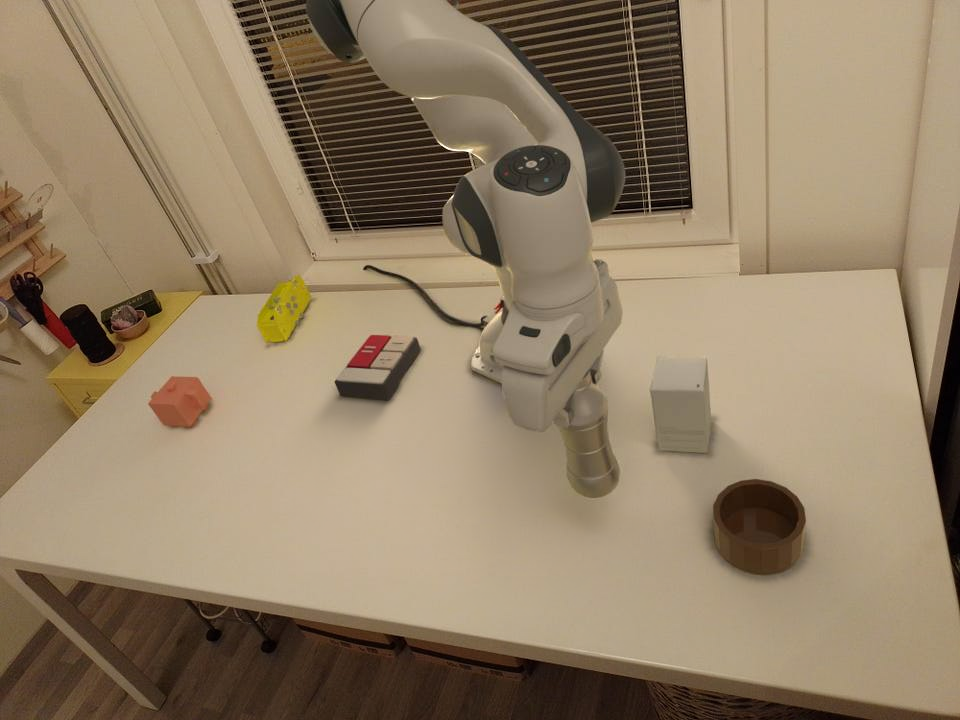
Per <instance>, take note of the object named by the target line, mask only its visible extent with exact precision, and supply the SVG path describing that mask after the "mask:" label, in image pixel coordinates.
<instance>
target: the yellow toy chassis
mask: <svg viewBox="0 0 960 720" xmlns="http://www.w3.org/2000/svg"><path fill="white" fill-rule="evenodd" d="M311 300H312V295H311V294H310V291H309V289H308V287H307V285H306V283H305V281H304V279H303V277H302V275H294V276H293V278H292V279H291V280H290V281H286V282H281V281H280V282H278V284H277V285H276V287H275V288H274V290H273V291H272V292H271V294H270V296H269V297H268V299H267V301H266V302H265V303H264V305H263V306H262V307H261V309H260V311H259V312H258V314H257V316H256V327H257V328H258V331H259V332H260V334H261V336H262V338H263V339H264V341H265V343H266V344H268V343H269V342H270V343H279V342H287V341H288V339H289V338H290V337H291V336H292V332H293V330H294V329H295V327H296V326H300V323H301V322H300V319H303V318H304V317H305V314H304V312H305V311H306V310H307V307H308V305H309V303H310V301H311Z"/></svg>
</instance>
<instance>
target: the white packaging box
mask: <svg viewBox="0 0 960 720" xmlns="http://www.w3.org/2000/svg"><path fill="white" fill-rule="evenodd" d="M649 394H650V398H651V405H652V414H653V420H654V427H655V428H654V429H655V435H656V441H657V447H658V451H665V452H681V453H699V454H708V453H709V444H710V437H711V428H712V427H711V426H712V410H711V394H710V380H709V366H708V358H707V356H686V357H685V356H657V357H656V359H655V364H654V370H653V374H652V378H651V383H650V387H649Z"/></svg>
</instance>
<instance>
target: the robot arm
mask: <svg viewBox="0 0 960 720" xmlns="http://www.w3.org/2000/svg"><path fill="white" fill-rule="evenodd" d="M450 1H451V3H452V4H453V5H452V4H451V3H450V2H449V1H447V0H306V3H305V13H306V16H307V17H308V21H309V25H310V28H311V31H312V33H313V35H314V37H315V38H316V40H317V41H318V43H319V44H320V45H321V46H322V47H323V49H324V50H325V51H327V52H328V53H330V54H331V55H333V56H334V57H335V58H336V59H337V60H339V61H340V62H345V63H349V64H354V63H358V62H360V61H363V60H365V59H366V61H367V63H368V65H369V66H370V67H371V69H372V71H373V72H374V74H376V76H377V77H378V78H379V79H380V80H381V82H382V83H383V84H384V85H385V86H387V87H388V88H389V89H390V90H392V91H394V92H395V93H398V94H401V95H403V96H406V97H409V98H410V100H411V101H412V103H413V104H414V106H415V107H416V110H417V111H418V112H419V114H420V116H421V117H422V119H423V121H424V122H425V124H426V125H427V127H428V129H429V130H430V132H431V134H432V135H433V136H434V138H435V140H436V142H437V143H438V144H439V145H441V146H442V147H444V148H445V149H447V150H450V151H456V152H458V151H459V152H460V151H464V152H468V153H470V154H473V155H474V156H476V157H477V158H478V159H480V160H481V161H482V162H483V163H484V164H483V165H481V166H479V167H477V168H474V169H473V170H471V171H469V172H467V173H466V174H464V175H462V176H461V177H460V179H459V181H458V182H457V184H456V187H455V189H454V192H453V195H452V196H451V197H450V198H449V199H448V201H447V202H446V203H445V204H444V206H443V208H442V213H441V221H442V227H443V231H444V233H445V235H446V237H447V240H448V241H449V242H450V244H451V245H452V246H453V247H454V248H455V249H456V250H458V251H459V252H460V253H462V254H464V255H466V256H468V257H472V258H474V259H478V260H481V261H482V262H485V263H487V264H489V265H490V266H491V268H492V269H493V271H494V272H495V275H496V277H497V280H498V283H499V287H500V289H501V293H502V296H501V297H500V299H499V302H498V303H497V304H496V305H495V307H494V308H493V312H492V313H490V314H489V315H483V316H481V318H480V322H479V323H472V322H467V321H464V320H462V319H458V318H456V317H454V316H452V315H450V314H449V313H446V312H445V310H443V309H442V308H441V307H440V306H439V305H438V304H437V303H436V301H434V300H433V299H432V298H431V296H430V295H429V294H428V293H427V292H426V291H425V290H424V289H423V288H422V287H421V285H419V284H417V283H416V282H415V281H413V280H412V279H410V278H409V277H406V276H404V275H401V274H398V273H394V272H391V271H386V270H383V269H381V268H378V267H376V266H374V265H371V264H366V265H364V266H363V267H362V270H363V271H366V270H367V269H370V270H373V271H374V272H377V273H379V274H382V275H385V276H389V277H394V278H397V279H400V280H401V281H402V280H403V281H404V282H407V283H409V284H410V285H411V286H413V287H414V288H415V289H416V290H418V291H419V292H420V294H422V295H423V296H424V297H425V299H426V300H427V302H429V303H430V305H431V306H432V307H433V308H435V310H436V311H437V312H438V313H439V314H440V315H441V316H442V317H444V318H445V319H447V320H449V321H451V322H453V323H456V324H459V325H461V326H466V327H473V328H482V327H484V329H483V330H482V332H481V334H480V337H479V342H478V343H479V344H478V347H477V348H476V349H475V350H474V352H473V355H472V357H471V361H470V366H471V370H472V371H474V372H476V373H478V374H480V375H482V376H484V377H486V378H489V379H490V380H493V381H494V382H497V383H499V384H500V385H501V389H502V393H503V398H504V401H505V405H506V408H507V412H508V415H509V417H510V420H511V422H512V423H513V424H514V425H515V426H517V427H519V428H521V429H524V430H527V431H530V432H536V433H545V432H547V431H548V430H549V428H550V427H551V425H552V424H553V423H554V425H555V426H556V427H558V426H560V427H563V428H568V426H569V424H570V423H571V421H572V420H573V416H572V414H573V412H572V409H569V408H564V407H565V405H566V404H565V403H566V402H567V400H568V399H569V398H570V396H571V395H572V393H573V392H574V390H575V389H576V387H577V386H578V385H579V383H580V382H581V380H582V379H583V377H584V376H585V375H586V373H587V372H588V370H589V369H590V374H591V376H592V382H593V383H594V384H596V385H598V383H599V381H600V380H601V379H602V372H601V367H602V362H603V356H604V352H605V351H604V349H605V347H606V346H607V344H608V343H609V341H610V340H611V339H612V337H613V336H614V334H615V333H616V332H617V330H618V328H619V327H620V325H621V324H622V320H623V306H622V300H621V297H620V293H619V288H618V286H617V282H616V280H615V279H614V278H613V277H611V276H610V272H609V265H608V262H607V261H605V260H604V259H598V258H597V259H594V258H593V255H592V252H593V245H594V233H593V227H592V223H595V222H599V221H601V220H604V219H607V218H608V217H610V216H611V215H612V213H613V211H614V210H615V209H616V207H617V205H618V203H619V201H620V199H621V196H622V194H623V190H624V187H625V182H626V168H625V164H624V160H623V158H622V156H621V154H620V152H619V150H618V148H617V146H616V145H615V144H614V143H613V142H612V140H611V139H610V138H609V137H608V136H607V135H606V134H605V133H603V132H602V131H601V130H600V129H598V128H597V127H596V126H595V125H593V124H592V123H591V122H589V121H588V120H587V119H585V118H584V116H582V115H581V114H580V113H579V112H578V111H577V110H576V109H575V108H574V106H572V104H570V103H569V102H568V100H567V99H566V98H565V97H564V96H563V95H562V94H561V93H560V92H559V90H557V88H556V87H555V86H554V84H552V83H551V82H550V81H549V79H548V78H547V77H546V76H545V75H544V74H543V73H542V72H541V71H540V69H538V67H537V66H536V65H535V64H534V63H533V62H532V60H530V59H529V57H528V56H527V55H526V54H525V53H524V52H523V51H522V50H521V49H520V47H518V46H517V45H516V44H515V43H514V42H513V40H511V39H510V38H509V37H508V36H507V35H506V34H505V33H504V32H503V31H501V30H500V29H498V28H497V27H495V26H492V25H488V24H483V23H481V22H479V21H476V20H474V19H472V18H470V17H469V16H467V15H465V14H464V13H462V12H461V11H459V10H458V9H457V6H458V5H459V1H458V0H450Z"/></svg>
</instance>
